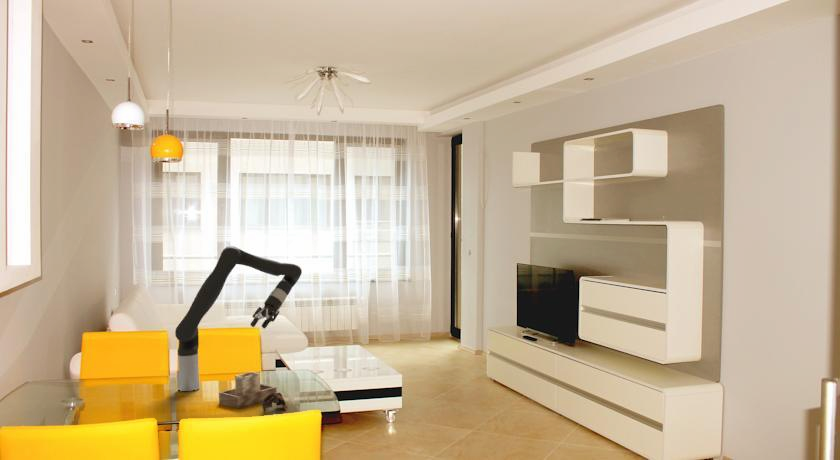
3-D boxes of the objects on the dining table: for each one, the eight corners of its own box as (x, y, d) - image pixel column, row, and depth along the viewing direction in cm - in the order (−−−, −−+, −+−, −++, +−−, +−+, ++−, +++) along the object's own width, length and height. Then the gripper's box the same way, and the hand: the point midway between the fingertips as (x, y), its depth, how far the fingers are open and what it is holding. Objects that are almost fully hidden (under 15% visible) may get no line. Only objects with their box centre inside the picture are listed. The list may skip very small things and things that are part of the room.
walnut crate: (239, 408, 278) (239, 397, 278) (219, 403, 287) (218, 392, 287) (276, 397, 293) (276, 386, 293) (256, 393, 303) (256, 382, 303)
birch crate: (243, 402, 285) (242, 377, 285) (235, 400, 289) (234, 375, 289) (260, 397, 292) (259, 373, 292) (252, 395, 296) (251, 371, 296)
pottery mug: (286, 414, 270) (275, 398, 268) (267, 423, 271) (256, 408, 269) (292, 398, 281) (281, 384, 280) (274, 408, 283) (263, 393, 281)
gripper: (262, 294, 317) (243, 320, 308) (280, 295, 308) (261, 323, 299) (271, 303, 321) (253, 330, 312) (289, 305, 312) (271, 332, 303)
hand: (257, 326), depth 306 cm, fingers open, 8 cm apart
